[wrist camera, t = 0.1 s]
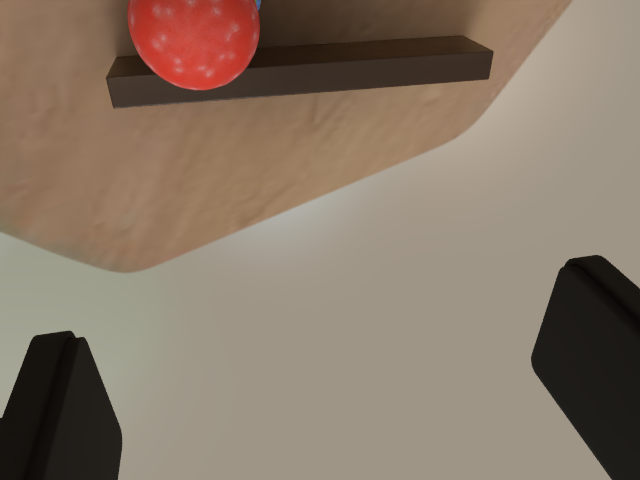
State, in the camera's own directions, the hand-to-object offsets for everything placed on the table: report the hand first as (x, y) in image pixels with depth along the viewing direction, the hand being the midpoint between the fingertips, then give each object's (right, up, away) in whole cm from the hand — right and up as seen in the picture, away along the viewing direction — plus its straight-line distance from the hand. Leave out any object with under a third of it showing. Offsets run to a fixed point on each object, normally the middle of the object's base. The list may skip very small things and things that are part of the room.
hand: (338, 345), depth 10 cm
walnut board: (-2, +16, +27) cm, 32 cm away
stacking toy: (-8, +19, +23) cm, 32 cm away
